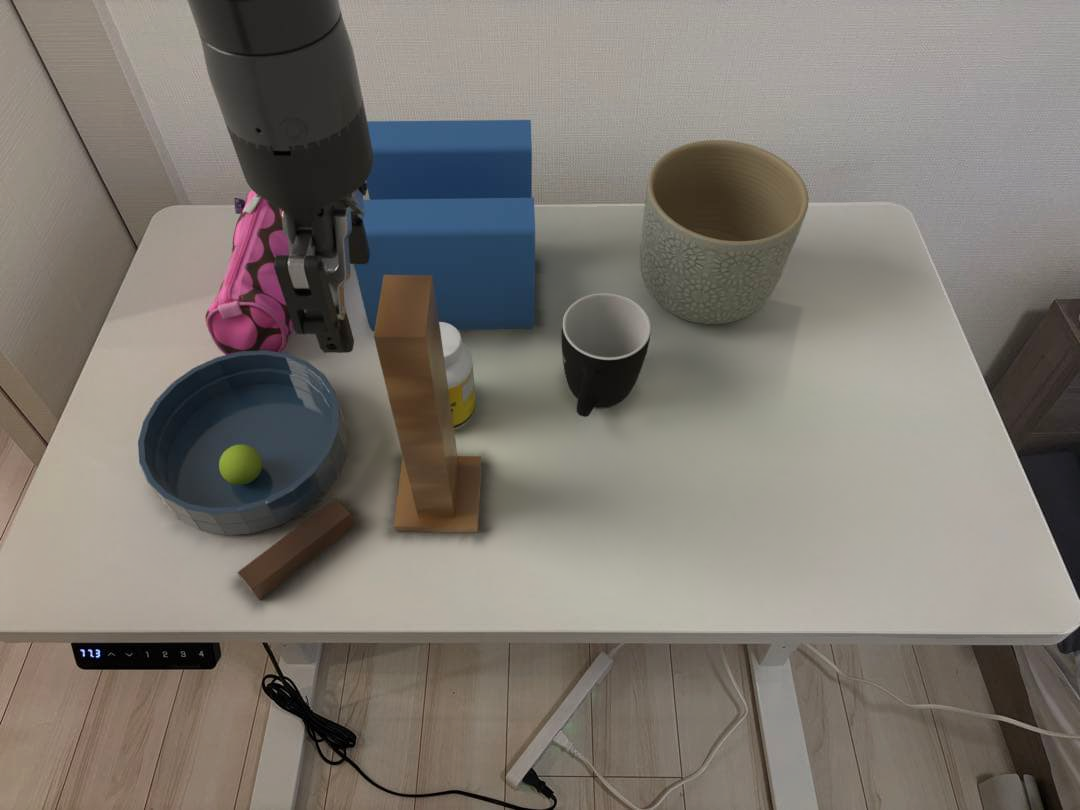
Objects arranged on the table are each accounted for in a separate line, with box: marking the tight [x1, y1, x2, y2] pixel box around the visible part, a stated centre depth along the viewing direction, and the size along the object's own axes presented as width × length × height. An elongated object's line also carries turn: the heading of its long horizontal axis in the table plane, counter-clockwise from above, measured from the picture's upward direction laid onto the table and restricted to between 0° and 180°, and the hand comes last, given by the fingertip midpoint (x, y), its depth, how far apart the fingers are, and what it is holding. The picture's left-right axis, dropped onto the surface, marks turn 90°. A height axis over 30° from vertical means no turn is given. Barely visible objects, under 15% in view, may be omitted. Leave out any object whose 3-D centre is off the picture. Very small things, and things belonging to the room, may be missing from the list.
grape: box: [219, 445, 262, 485], centre depth 78 cm, size 4×4×4 cm
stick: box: [237, 497, 356, 601], centre depth 75 cm, size 11×2×2 cm, turn 135°
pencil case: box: [205, 189, 294, 356], centre depth 91 cm, size 21×10×10 cm, turn 2°
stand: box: [373, 275, 483, 533], centre depth 68 cm, size 8×8×28 cm
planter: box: [639, 139, 810, 325], centre depth 90 cm, size 17×17×15 cm
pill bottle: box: [439, 322, 477, 431], centre depth 81 cm, size 6×6×12 cm
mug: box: [561, 292, 652, 418], centre depth 83 cm, size 12×9×10 cm
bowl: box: [137, 350, 349, 536], centre depth 80 cm, size 19×19×5 cm
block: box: [353, 119, 536, 332], centre depth 88 cm, size 18×18×18 cm
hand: (347, 303), depth 56 cm, fingers open, 8 cm apart
